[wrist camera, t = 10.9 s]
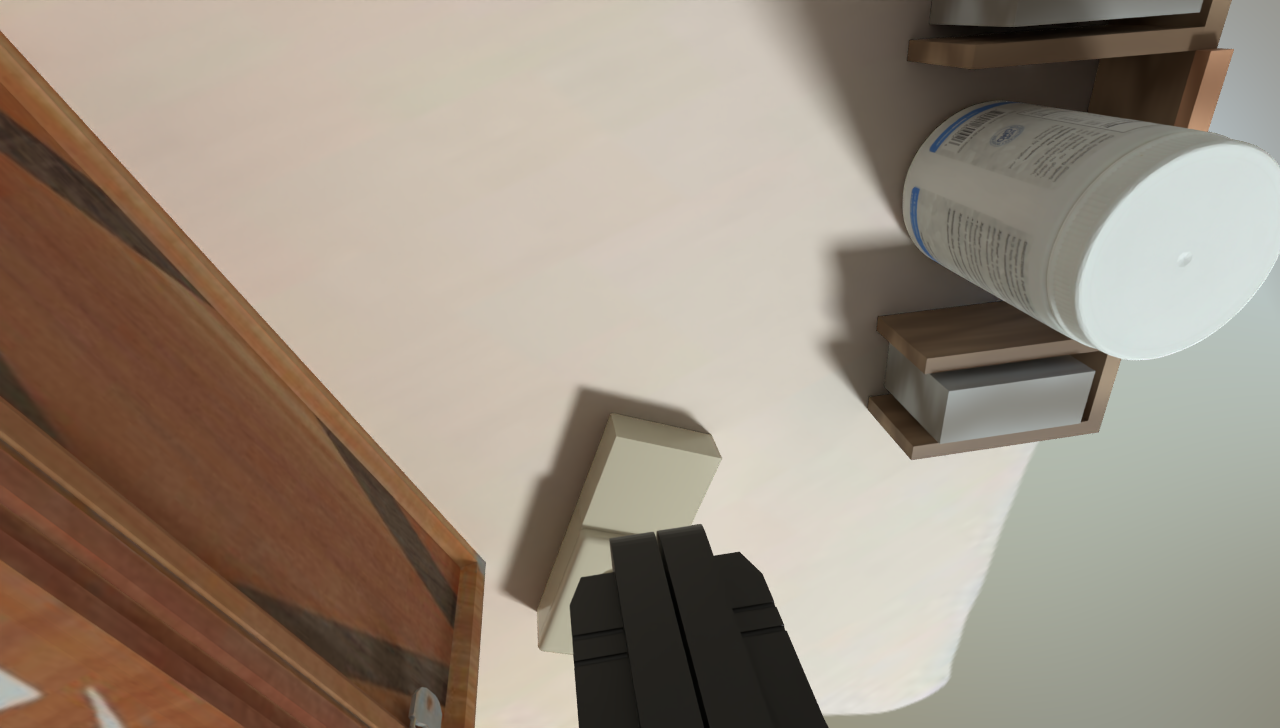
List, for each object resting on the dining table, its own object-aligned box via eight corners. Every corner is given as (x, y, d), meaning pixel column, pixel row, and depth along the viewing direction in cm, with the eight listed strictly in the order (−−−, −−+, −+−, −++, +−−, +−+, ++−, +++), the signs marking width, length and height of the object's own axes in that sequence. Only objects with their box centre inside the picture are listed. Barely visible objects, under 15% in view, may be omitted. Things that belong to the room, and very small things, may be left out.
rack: (924, -96, 33) (1066, -134, 24) (1158, -110, 34) (1371, -150, 26) (867, 409, 47) (945, 499, 38) (1036, 385, 48) (1148, 467, 39)
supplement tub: (1005, 270, 43) (1210, 380, 30) (872, 249, 41) (1032, 358, 28) (1075, 111, 39) (1348, 161, 26) (932, 79, 37) (1151, 116, 24)
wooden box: (-42, -30, 29) (-919, -93, 11) (493, 561, 48) (476, 878, 31) (-397, 207, 31) (-1618, 469, 13) (254, 684, 50) (110, 1049, 32)
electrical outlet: (726, 467, 42) (632, 664, 49) (710, 431, 46) (625, 620, 53) (618, 444, 40) (536, 653, 47) (610, 409, 44) (535, 608, 51)
